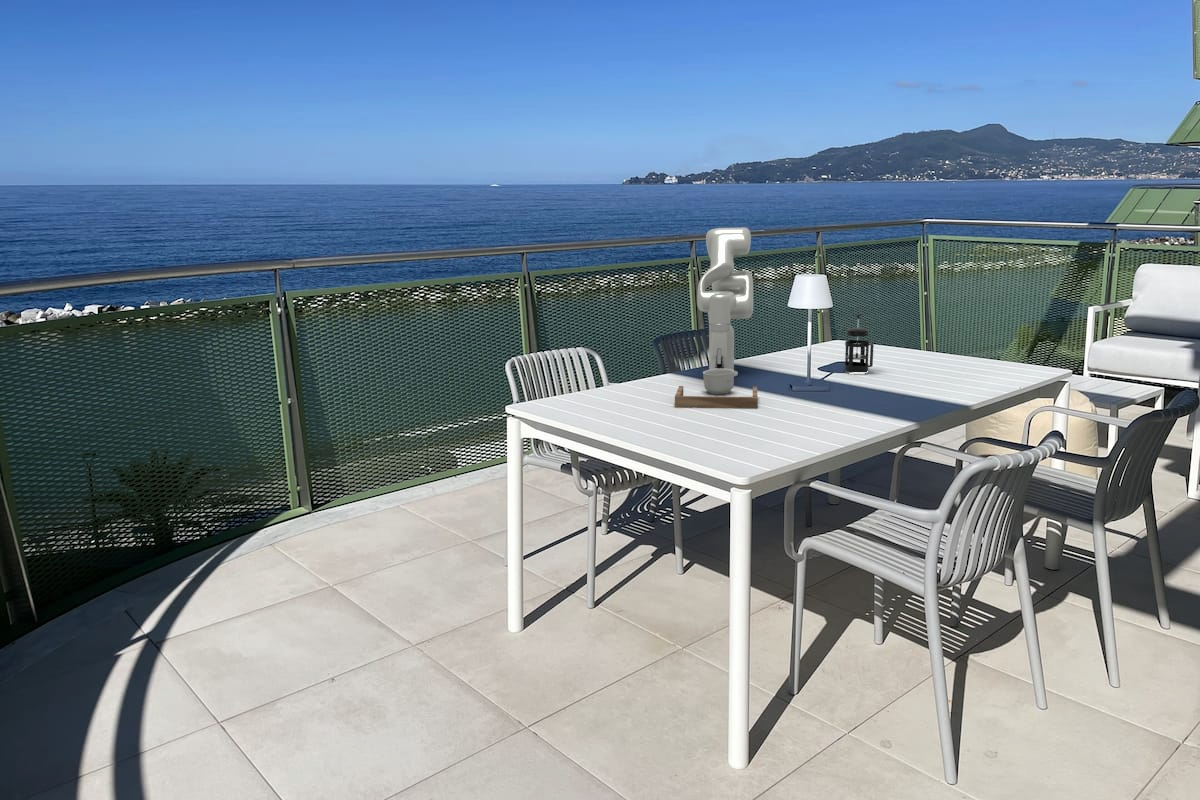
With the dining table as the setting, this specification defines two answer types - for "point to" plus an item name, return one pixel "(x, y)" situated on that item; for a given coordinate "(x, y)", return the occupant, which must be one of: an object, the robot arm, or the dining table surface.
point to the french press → (857, 343)
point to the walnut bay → (715, 401)
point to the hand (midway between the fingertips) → (719, 377)
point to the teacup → (718, 380)
